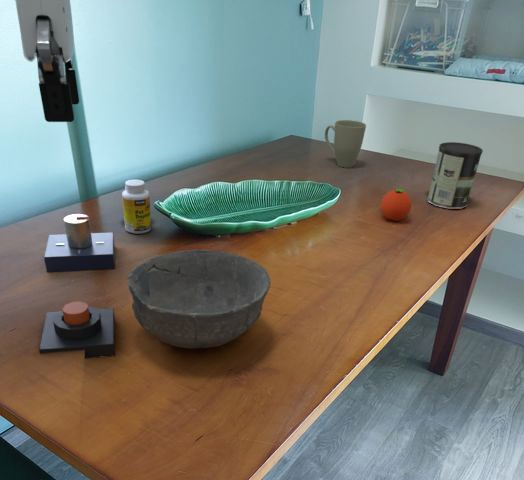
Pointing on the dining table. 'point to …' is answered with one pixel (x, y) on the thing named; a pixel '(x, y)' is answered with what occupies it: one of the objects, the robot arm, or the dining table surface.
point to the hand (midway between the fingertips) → (63, 112)
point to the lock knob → (78, 231)
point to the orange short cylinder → (76, 313)
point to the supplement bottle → (136, 207)
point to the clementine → (396, 204)
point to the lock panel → (80, 254)
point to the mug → (346, 141)
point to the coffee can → (454, 174)
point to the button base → (80, 334)
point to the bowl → (198, 296)
